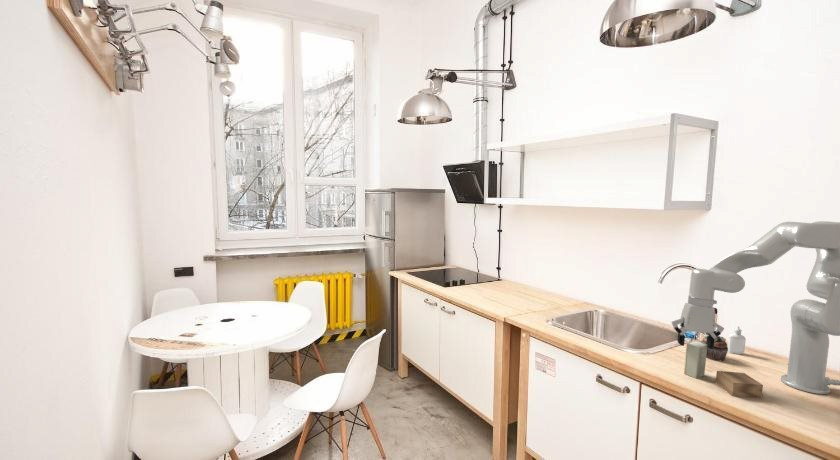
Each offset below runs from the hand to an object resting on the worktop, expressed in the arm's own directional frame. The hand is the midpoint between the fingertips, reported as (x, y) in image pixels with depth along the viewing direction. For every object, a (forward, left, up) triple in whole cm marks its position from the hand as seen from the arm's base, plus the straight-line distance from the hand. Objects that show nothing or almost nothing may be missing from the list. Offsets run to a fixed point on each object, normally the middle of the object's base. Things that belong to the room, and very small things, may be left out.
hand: (694, 346), depth 144 cm
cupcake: (-18, -21, -12) cm, 30 cm away
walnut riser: (-10, +10, -12) cm, 18 cm away
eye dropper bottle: (-31, -29, -12) cm, 44 cm away
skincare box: (-1, 0, -12) cm, 12 cm away
